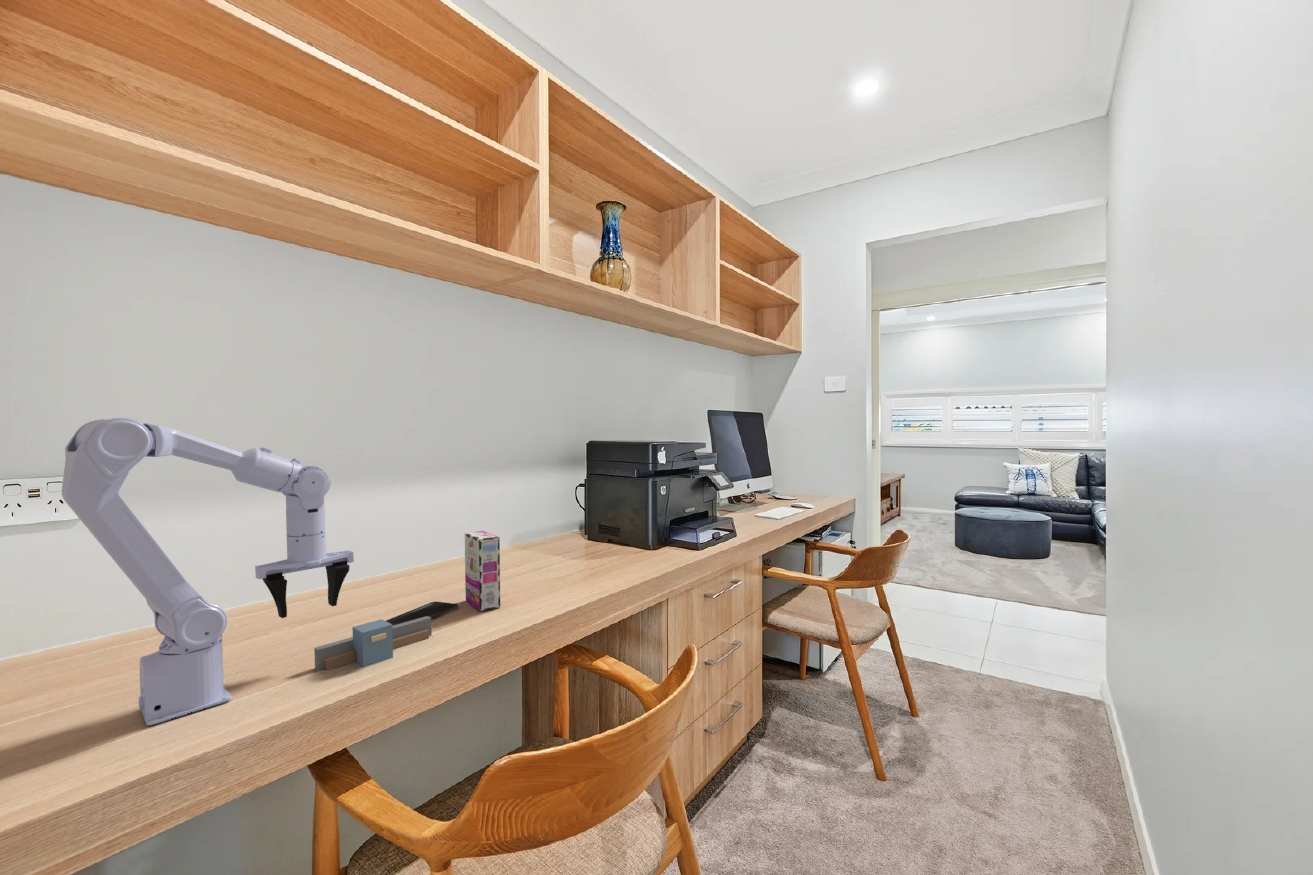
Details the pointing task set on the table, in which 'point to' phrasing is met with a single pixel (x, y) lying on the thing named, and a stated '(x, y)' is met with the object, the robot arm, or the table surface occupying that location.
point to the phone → (424, 612)
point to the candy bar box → (482, 570)
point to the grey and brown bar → (345, 652)
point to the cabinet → (373, 642)
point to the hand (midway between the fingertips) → (308, 610)
